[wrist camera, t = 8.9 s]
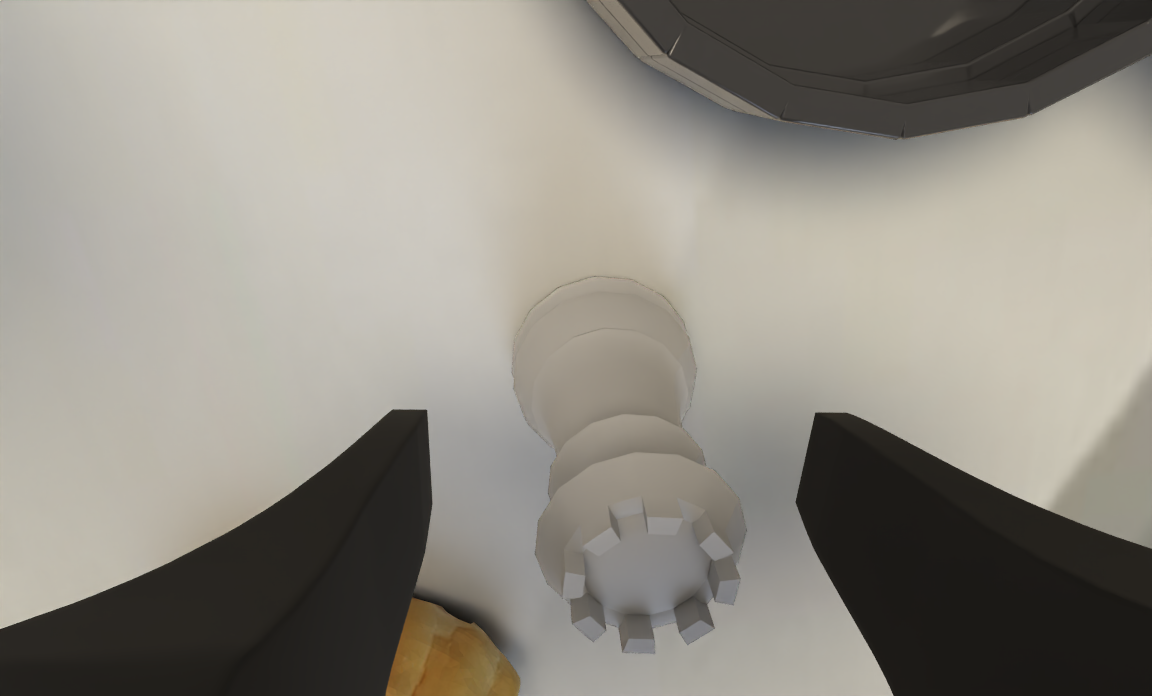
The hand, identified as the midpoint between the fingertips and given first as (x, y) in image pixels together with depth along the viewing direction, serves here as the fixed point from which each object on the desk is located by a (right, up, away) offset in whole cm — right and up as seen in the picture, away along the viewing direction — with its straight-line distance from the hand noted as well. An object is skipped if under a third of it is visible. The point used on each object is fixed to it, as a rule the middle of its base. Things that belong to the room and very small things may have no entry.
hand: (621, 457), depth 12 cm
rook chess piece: (0, +2, +5) cm, 5 cm away
